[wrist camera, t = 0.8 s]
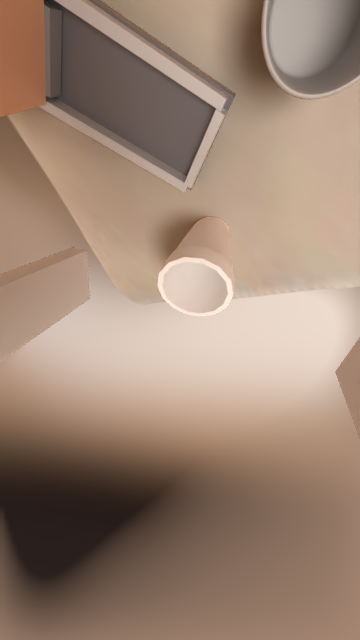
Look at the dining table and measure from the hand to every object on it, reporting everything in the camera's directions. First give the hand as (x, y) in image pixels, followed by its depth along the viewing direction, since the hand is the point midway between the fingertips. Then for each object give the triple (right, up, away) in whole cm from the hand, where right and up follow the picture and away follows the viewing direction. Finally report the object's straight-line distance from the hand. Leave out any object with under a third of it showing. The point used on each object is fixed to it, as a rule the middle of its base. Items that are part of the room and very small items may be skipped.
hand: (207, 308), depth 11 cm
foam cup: (+3, +13, +27) cm, 30 cm away
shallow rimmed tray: (-9, +26, +15) cm, 31 cm away
